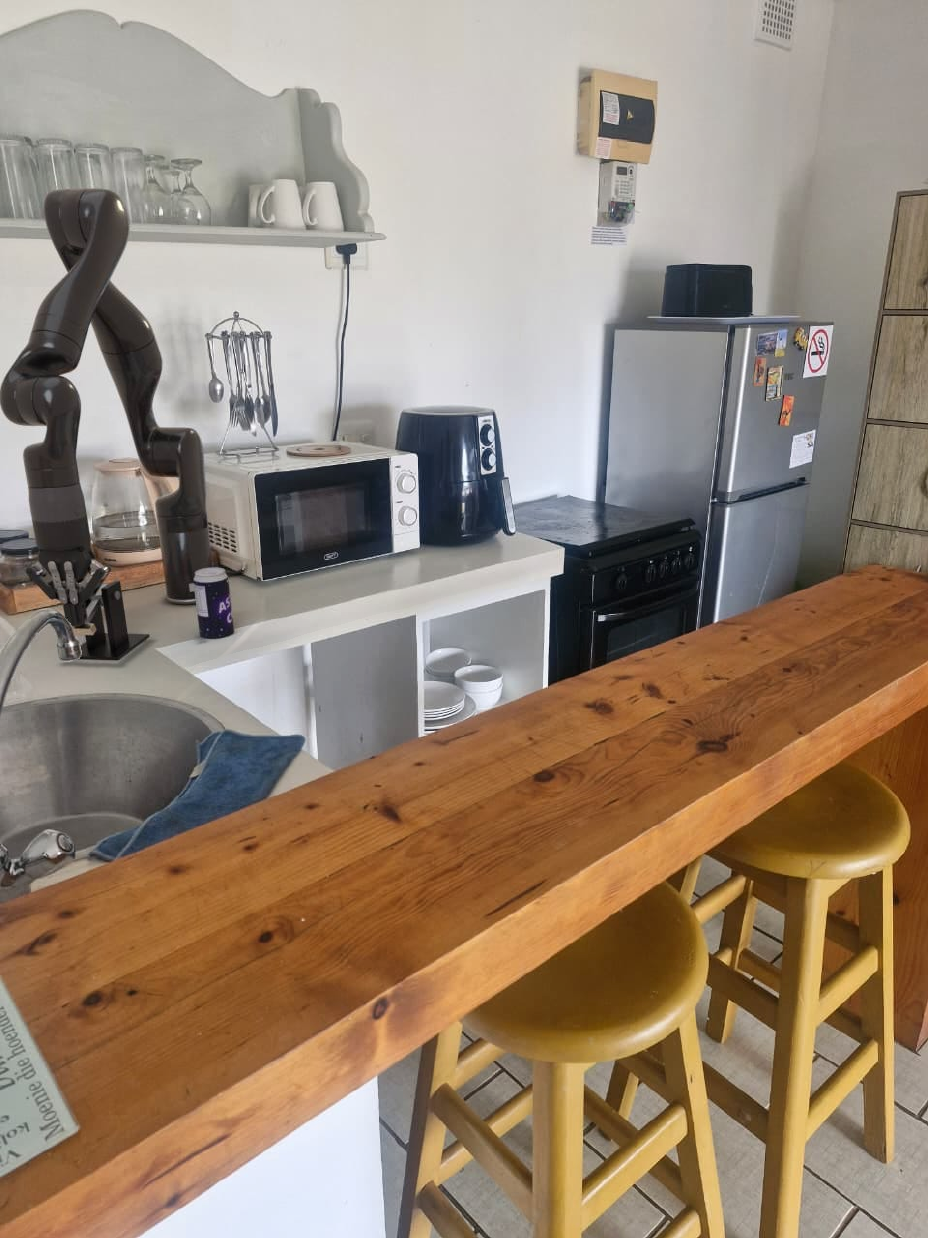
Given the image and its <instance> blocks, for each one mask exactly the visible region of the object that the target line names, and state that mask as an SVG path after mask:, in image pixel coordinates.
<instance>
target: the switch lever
mask: <svg viewBox="0 0 928 1238" xmlns="http://www.w3.org/2000/svg"><path fill="white" fill-rule="evenodd" d="M108 584H109V583H103V584H102V585H101V587H100V589H99V590H98V592H97V593H96V595H94V596H93V597H91V598H90V600H91V602H90V604H89V606H88V607H87V609H86V611H87V620H86V621H85V623H84V624H83V625H81V626H80V627H77V626H72V628H73V630H74V633H75V635H74V636H85V635H94V633H95V631H96V627H95V625H94V624H93V623H90V621H91V619H92V618H93V616H94V614H95V613H96V611H97V609H98V608H99V606H101V607H104V605H103V599H102V592H101V588H103V587H105V586H106V585H108Z"/></svg>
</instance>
